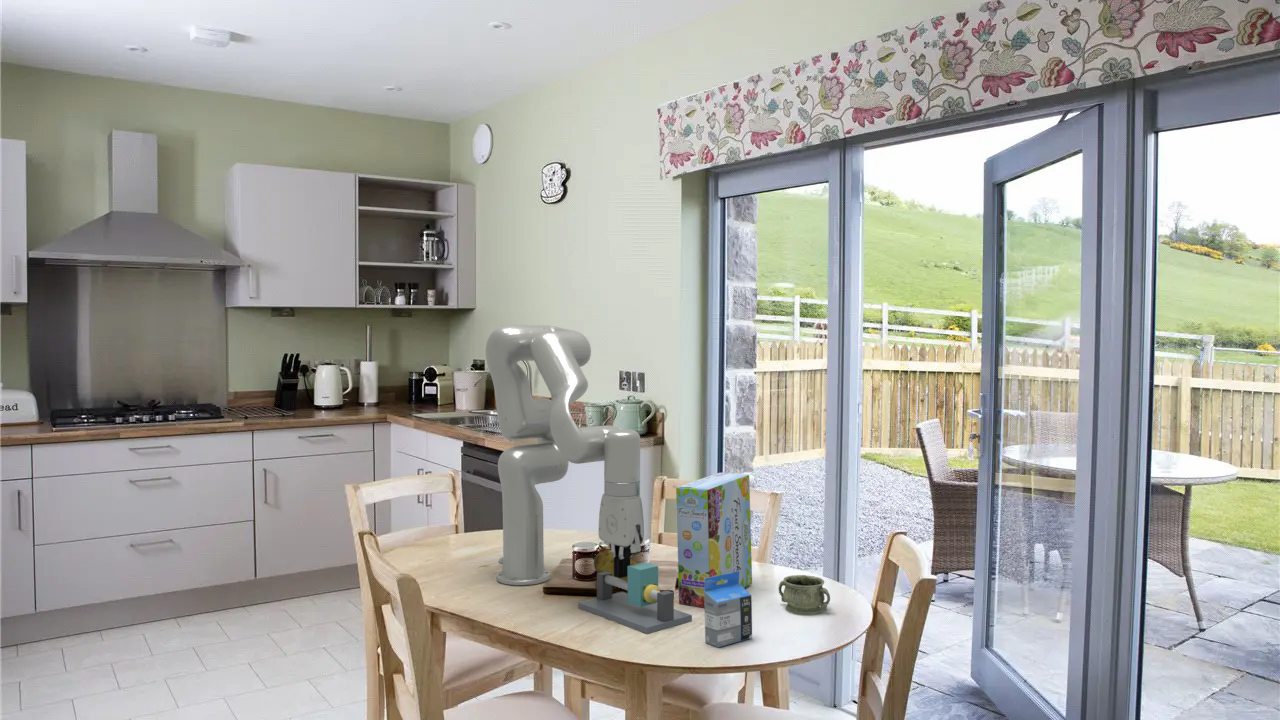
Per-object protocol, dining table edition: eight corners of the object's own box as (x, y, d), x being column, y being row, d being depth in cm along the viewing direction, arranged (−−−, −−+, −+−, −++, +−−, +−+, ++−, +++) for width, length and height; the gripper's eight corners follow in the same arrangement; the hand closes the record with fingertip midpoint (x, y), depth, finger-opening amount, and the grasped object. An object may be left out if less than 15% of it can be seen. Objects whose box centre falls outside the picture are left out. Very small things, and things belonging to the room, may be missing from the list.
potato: (625, 595, 200) (625, 559, 200) (588, 584, 209) (588, 550, 209) (652, 588, 206) (652, 553, 206) (614, 577, 215) (614, 544, 215)
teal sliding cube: (627, 602, 184) (627, 566, 184) (645, 598, 188) (645, 562, 187) (640, 607, 181) (640, 569, 181) (658, 602, 185) (658, 565, 184)
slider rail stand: (578, 608, 191) (578, 573, 191) (622, 597, 199) (622, 564, 199) (647, 633, 175) (646, 596, 174) (691, 620, 182) (691, 584, 182)
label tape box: (717, 648, 166) (717, 582, 166) (703, 642, 170) (703, 577, 169) (752, 639, 172) (753, 574, 171) (738, 633, 175) (738, 570, 174)
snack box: (719, 580, 213) (719, 471, 212) (753, 585, 208) (753, 474, 207) (674, 604, 194) (674, 484, 193) (711, 610, 190) (711, 488, 189)
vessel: (768, 609, 190) (768, 579, 190) (788, 599, 197) (788, 571, 197) (820, 620, 183) (820, 589, 182) (839, 609, 190) (839, 580, 189)
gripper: (586, 486, 192) (586, 572, 193) (631, 496, 181) (631, 587, 181) (613, 482, 197) (613, 566, 198) (659, 492, 186) (659, 580, 186)
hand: (622, 576), depth 189 cm, fingers closed
